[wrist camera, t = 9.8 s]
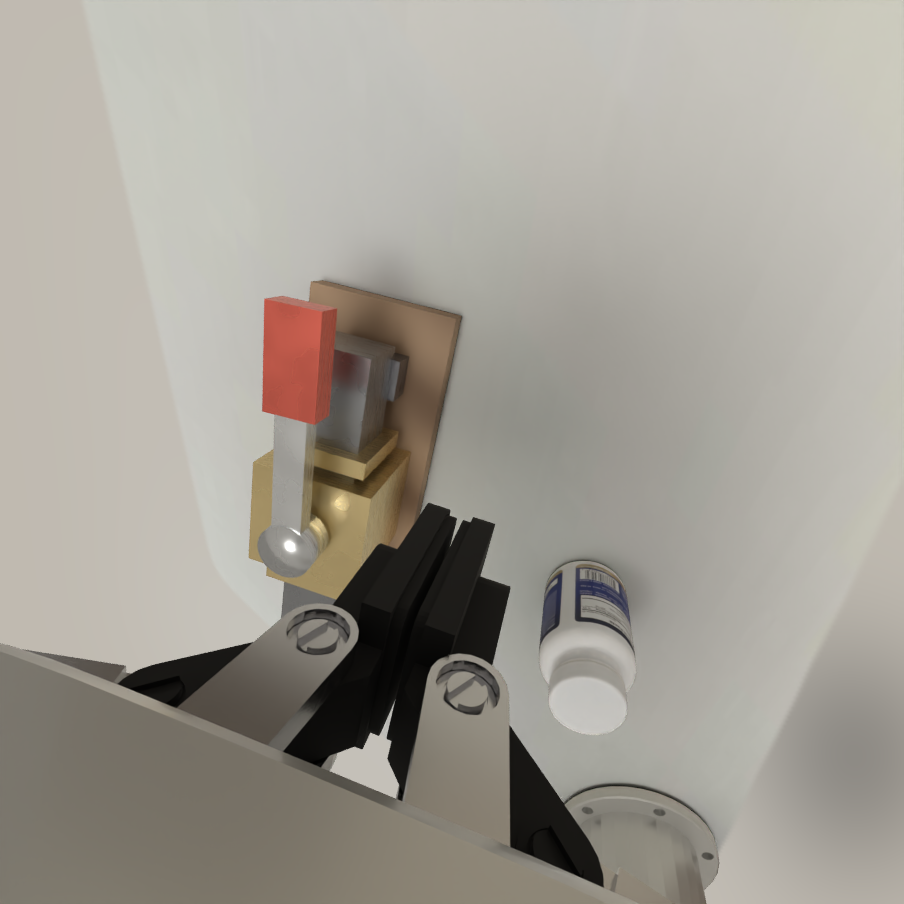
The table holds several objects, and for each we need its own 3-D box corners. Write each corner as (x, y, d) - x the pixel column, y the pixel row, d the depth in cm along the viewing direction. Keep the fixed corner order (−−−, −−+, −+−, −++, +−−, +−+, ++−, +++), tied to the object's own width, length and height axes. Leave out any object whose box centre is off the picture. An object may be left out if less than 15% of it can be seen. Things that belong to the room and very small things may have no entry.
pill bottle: (566, 632, 36) (561, 754, 27) (532, 572, 35) (515, 680, 26) (640, 611, 34) (659, 735, 25) (605, 547, 33) (614, 655, 24)
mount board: (397, 620, 40) (390, 633, 38) (293, 584, 41) (283, 595, 40) (461, 315, 30) (456, 318, 28) (322, 280, 31) (310, 281, 30)
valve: (381, 608, 38) (342, 678, 31) (298, 580, 39) (244, 642, 32) (430, 348, 29) (391, 374, 23) (324, 320, 30) (259, 337, 24)
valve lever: (326, 563, 28) (307, 585, 26) (277, 548, 28) (255, 569, 27) (348, 307, 22) (326, 313, 20) (287, 293, 23) (260, 297, 21)
